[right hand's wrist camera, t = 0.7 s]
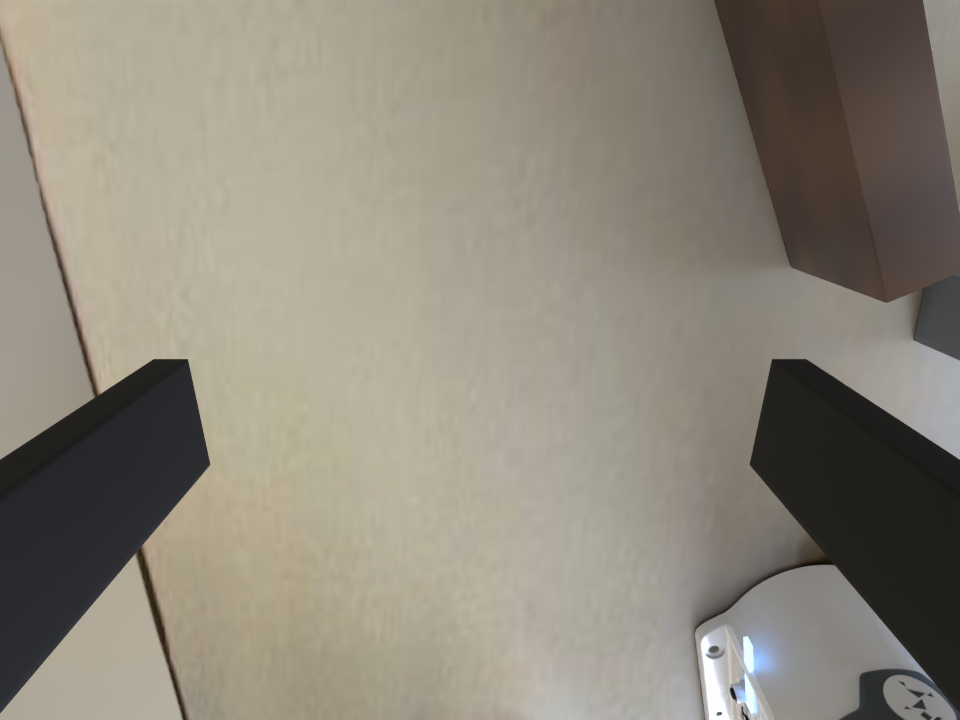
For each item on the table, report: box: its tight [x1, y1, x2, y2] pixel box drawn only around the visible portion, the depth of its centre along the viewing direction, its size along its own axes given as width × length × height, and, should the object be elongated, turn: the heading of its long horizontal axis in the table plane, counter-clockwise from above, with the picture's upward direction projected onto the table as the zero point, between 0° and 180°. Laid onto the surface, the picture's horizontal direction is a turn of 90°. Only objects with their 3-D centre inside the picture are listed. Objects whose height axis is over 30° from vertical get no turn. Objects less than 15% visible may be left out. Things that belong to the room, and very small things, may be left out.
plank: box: [714, 0, 960, 303], centre depth 27 cm, size 26×4×9 cm, turn 26°
